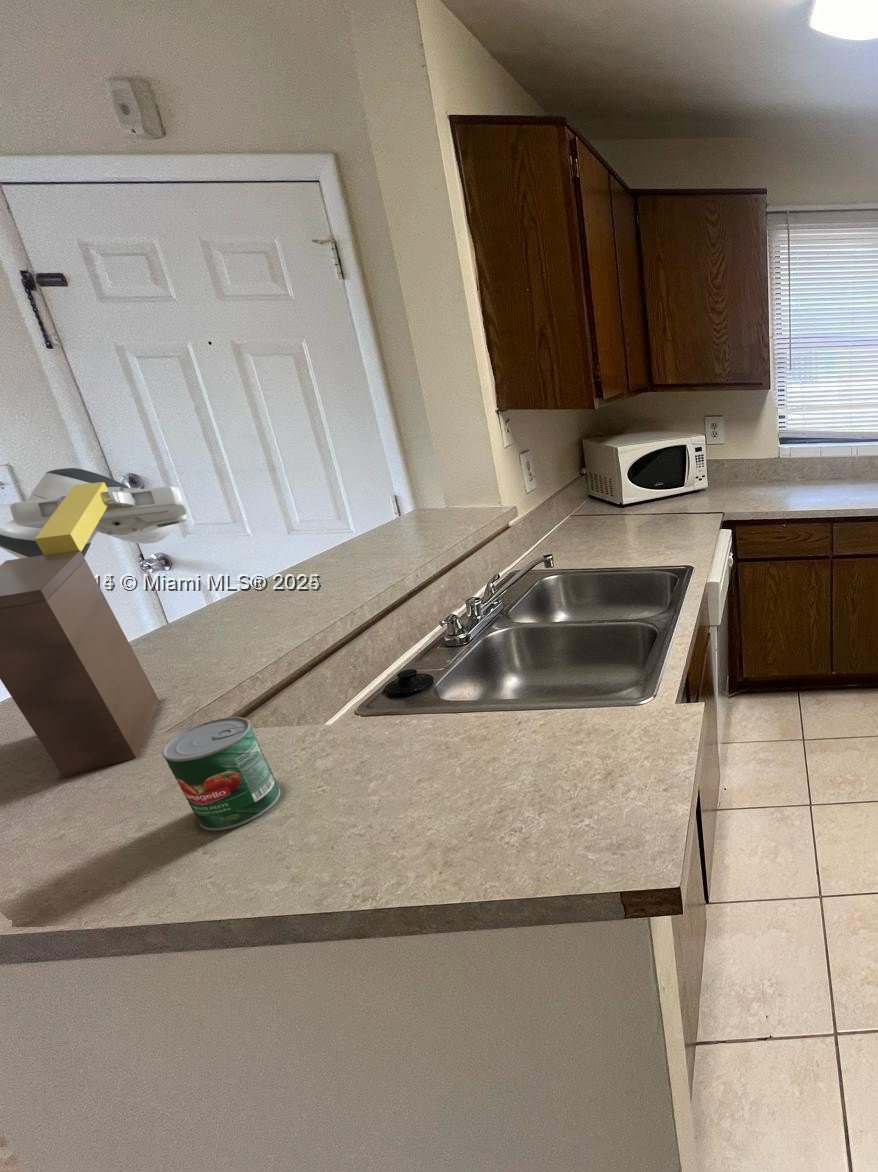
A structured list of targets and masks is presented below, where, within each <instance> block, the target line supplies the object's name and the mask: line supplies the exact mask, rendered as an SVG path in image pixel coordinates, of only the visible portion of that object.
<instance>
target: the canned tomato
mask: <svg viewBox="0 0 878 1172" xmlns="http://www.w3.org/2000/svg"><path fill="white" fill-rule="evenodd" d="M161 755H162V757H163V758H164V759H165V761H166V763H167V765H168V768H169V769H170V771H171V773H172V775H173V776H174V779H175V781H176V782H177V784H178V785H179V788H180V789H181V791H182V794H183V795H184V797H185V799H186V801H187V803H188V805H189V806H190V808H191V810H192V811H193V814H194V816H195V818H196V819H197V820H198V824H199V826H200V827H201V828H202V829H203V830H206V831H214V832H215V831H216V832H217V831H225V830H229V829H233V828H237V827H239V826H242V825H245V824H247V823H249V822H251V821H254V820H255V819H257V818H259V817H260V816H263V814H265V813H266V812H267V811H268V810H270V809H271V808H272V807H274V805H275V804H276V803H277V802H278V800H279V799H280V796H281V789H280V787H279V785H278V784H277V780H276V778H275V777H274V773H273V772H272V768H270V765H269V763H268V761H267V758H266V757H265V754H264V752H263V749H262V748H261V746H260V743H259V742H258V738H257V737H256V734H255V731H254V729H253V727H252V725H251V722H250V721H249V719H247V718H245V717H241V716H226V717H220V718H214V719H210V720H208V721H204V722H202V723H198V724H197V725H194V726H191V727H190V728H187V729H185V730H184V731H181V732H180V733H178V734H177V735H175V736H174V737H172V738H171V739H170V740H168V741H167V742H166V744H164V746H163V747H162V750H161Z"/></svg>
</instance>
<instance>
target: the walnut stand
mask: <svg viewBox="0 0 878 1172" xmlns="http://www.w3.org/2000/svg"><path fill="white" fill-rule="evenodd" d="M0 681H1V683H2V684H3V686H4V687H5V689H6V691H7V692H8V693H9V695H10V697H11V698H12V700H13V702H14V703H15V704H16V706H17V708H18V709H19V711H20V713H21V714H22V715H23V717H24V719H25V720H26V722H27V723H28V725H29V726H30V728H31V729H32V731H33V732H34V734H35V736H36V737H37V739H38V740H39V741H40V743H41V745H42V746H43V748H44V749H45V751H46V752H47V754H48V755H49V757H50V759H51V761H52V762H53V764H54V765H55V766H56V768H57V769H58V771H59V773H60V774H61V776H62V777H63V778H68V777H71V776H75V775H78V774H82V773H87V772H89V771H93V770H97V769H101V768H105V767H107V766H111V765H115V764H118V763H122V762H126V761H129V760H132V759H133V760H134V759H136V758H137V756H138V754H139V752H140V749H141V747H142V744H143V742H144V740H145V738H146V735H147V733H148V731H149V728H150V726H151V723H152V721H153V719H154V716H155V714H156V712H157V710H158V706H159V704H160V699H159V697H158V696H157V694H156V692H155V689H154V688H153V686H152V684H151V682H150V679H149V678H148V677H147V674H146V672H145V671H144V669H143V667H142V665H141V663H140V661H139V659H138V657H137V655H136V653H135V652H134V650H133V648H132V646H131V644H130V642H129V640H128V638H127V636H126V635H125V633H124V630H123V629H122V627H121V625H120V622H119V621H118V619H117V618H116V616H115V613H114V611H113V610H112V608H111V606H110V604H109V602H108V600H107V599H106V597H105V595H104V592H103V590H102V588H101V587H100V585H99V583H98V581H97V578H95V575H94V574H93V571H92V570H91V568H90V566H89V563H88V561H87V560H86V558H85V557H84V556H83V554H82V552H81V551H80V550H76V551H69V552H62V553H55V554H48V555H41V556H34V557H27V558H14V559H7V560H5V561H4V562H3V563H1V564H0Z"/></svg>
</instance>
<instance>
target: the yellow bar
mask: <svg viewBox="0 0 878 1172" xmlns="http://www.w3.org/2000/svg"><path fill="white" fill-rule="evenodd" d="M107 491H108V489H107V487H106V485H105V483H104V482H99V483H89V484H79V485H74V486H73V488H72V489H71V490H70V492H69V493H68V494H67V496H66V497H65V498H64V500H63V501H62V502H61V504H60V505H59V506H58V508H57V509H56V511H55V512H54V513H53V515H52V516H51V517H50V519H49V520H48V521H47V523H46V524H45V525H44V527H43V528H42V529H41V531H40V532H39V533H38V535H37V536H36V537H35V541H36V542H37V544H38V546H39V548H40V549H41V551H42V553H43V554H44V555H48V554H55V553H62V552H69V551H76V550H80V551H82V550H83V548H84V546H85V545H86V543H87V541H88V539H89V538H90V536H91V534H92V532H93V531H94V529H95V527H96V526H97V524H98V522H99V520H100V519H101V517H102V515H103V513H104V512H105V510H106V508H107V507H108V505H109V504H106V503H104V502H103V500H102V496H101V492H107Z"/></svg>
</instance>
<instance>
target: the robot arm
mask: <svg viewBox="0 0 878 1172" xmlns="http://www.w3.org/2000/svg"><path fill="white" fill-rule="evenodd" d="M99 482H104V483H105V485H106V487H107V489H108V491H107V492H101V496H102V500H103V502H104V503H106V504H109V505H108V507H107V508H106V510H105V512H104V513H103V515H102V517H101V519H100V520H99V522H98V524H97V526H96V527H95V529H94V531H93V532H92V534H91V536H90V538H89V539H88V541H87V543H86V545H85V546H84V548H83V550H82V551H81V552H82V554H83V556H84V558H85V557H86V555H87V553H88V551H89V549H90V547H91V545H92V541H93V540H94V538H95V537H96V535H97V533H101V534H103V535H106V536H110V537H112V538H116V539H118V540H122V541H124V542H128V543H134V544H154V543H159V542H160V541H162V540H165V539H166V538H167V537H168V536H169V535H170V534H171V533H172V531H173V528H174V525H177V524H180V523H185V522H187V521H188V508H187V505H186V501H185V498H184V494H183V492H182V489H181V488H180V487H179V486H176V485H168V486H159V487H150V488H134V487H129V486H128V485H126V484H123V483H121V482H120V481H117V480H115V479H113V478H110V477H107V476H105V475H102V474H100V473H97V472H93V471H89V470H85V469H83V468H76V467H66V468H57V469H52V470H48V471H45V474H44V475H43V476H42V478H41V479H40V480H39V482H38V483H37V484H36V486H35V487H34V489H33V490H32V491H31V493H30V495H29V497H28V499H27V500H25V501H17V502H14V503H11V504H10V506H9V510H10V513H11V517H12V520H10V521H9V522H4V521H2V520H0V549H2V550H4V551H5V552H7V553H9V554H11V555H13V556H15V557H17V559H20V558H27V557H34V556H41V555H44V554H43V553H42V551H41V549H40V548H39V546H38V544H37V542H36V541H35V537H36V536H37V535H38V533H39V532H40V531H41V529H42V528H43V527H44V525H45V524H46V523H47V521H48V520H49V519H50V517H51V516H52V515H53V513H54V512H55V511H56V509H57V508H58V506H59V505H60V504H61V502H62V501H63V500H64V498H65V497H66V496H67V494H68V493H69V492H70V490H71V489H72V488H73V486H74V485H79V484H89V483H99Z"/></svg>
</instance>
